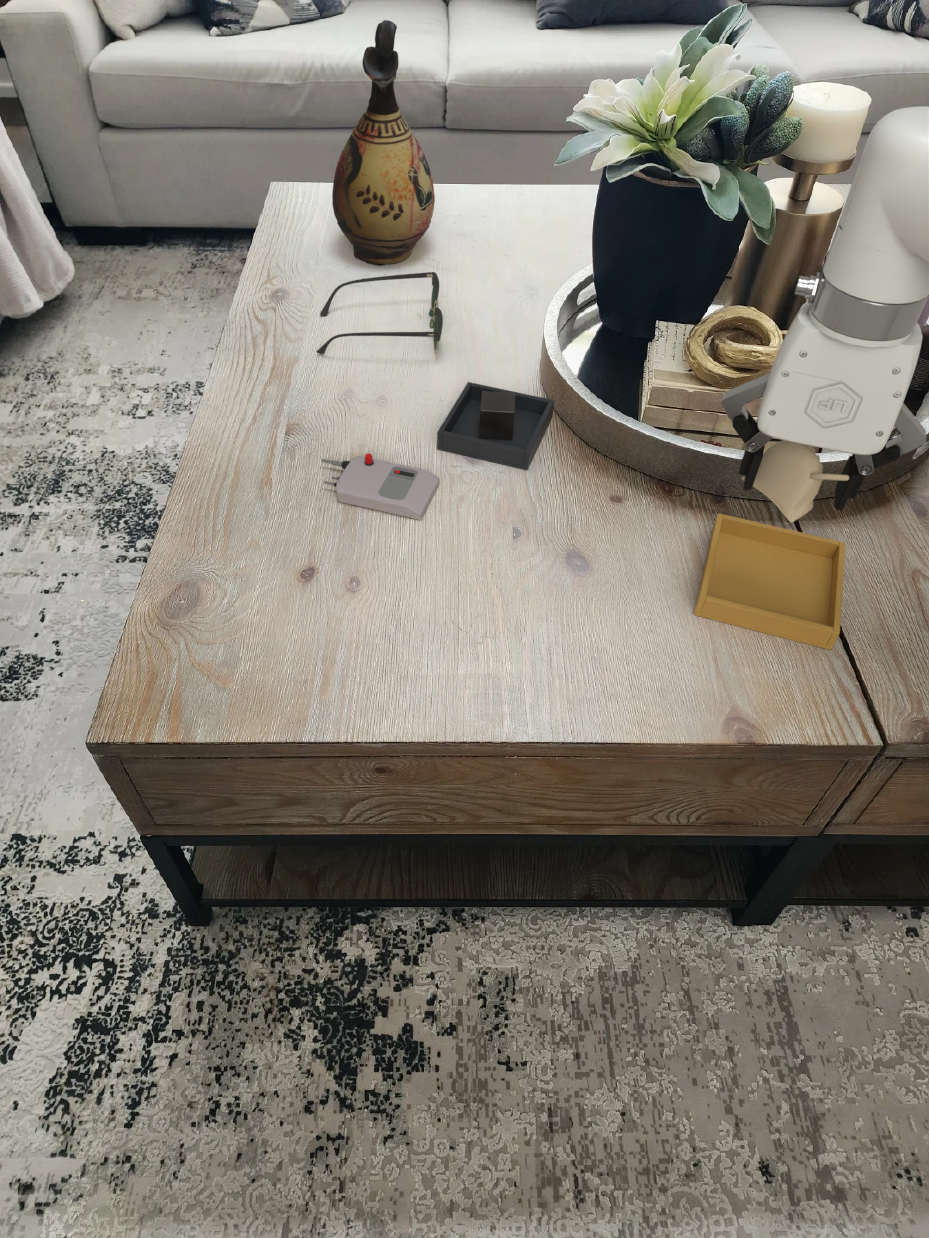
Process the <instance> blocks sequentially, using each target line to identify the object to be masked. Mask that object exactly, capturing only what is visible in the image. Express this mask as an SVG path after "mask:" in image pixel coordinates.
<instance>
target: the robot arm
mask: <svg viewBox="0 0 929 1238" xmlns="http://www.w3.org/2000/svg"><path fill="white" fill-rule="evenodd" d="M867 137H868V138H867V140H866V142H865V145H864V147H863V150H862V154H861V156H860V159H859V161H858V165H857V168H856V170H855V174H854V177H853V180H852V183H851V186H850V188H849V191H848V194H847V197H846V200H845V203H844V206H843V208H842V212H841V215H840V218H839V220H838V223H837V226H836V229H835V232H834V235H833V238H832V241H831V244H830V247H829V250H828V252H827V256H826V259H825V261H824V264H822V267H821V269H820V272H819V271H816V274H815V275H809V276H803V275H798V279H797V281H796V284H795V289H794V292H793V295H795V296H802V297H803V299H808V300H807V301H806V302H804V303H803V304H802V305H801V307H800V308H799V310H798V311H797V313H796V315H795V316H794V318H793V320H792V322H791V324H790V326H789V327H788V330H787V332H786V333H785V335H784V337H783V340H782V342H781V344H780V347H779V348H778V351H777V353H776V355H775V358H774V360H773V363H772V366H771V368H770V371H769V373H767V374H764V375H762V376H760V377H757V378H754V379H752V380H750V381H747V382H745V383H743V384H739V385H738V386H735V387H733V388H730V389H728V390H725V392H723V394H722V399H721V406H722V408H723V410H724V412H725V413H726V415H727V417H728V418H729V419H730V422H731V423H732V424H731V425H732V428H733V429H734V430H735V432H736V433H737V435H738V436H739V437H740V440H742V442H743V443H744V449H745V450H744V453H743V456H742V459H741V462H740V464H739V469H738V475H739V476H742V477H743V476H745V480H743V486H742V490H744V491H747V492H748V491H750V490H753V488H754V487H753V484H754V481H755V478H756V475H757V472H758V469H759V466H760V464H761V461H762V458H763V454H764V453H765V446H766V445H767V443H769V442H770V441H771V440H772V439H776V440H780V441H782V440H785V441H790V442H794V443H799V444H804V445H808V447H815V448H819V449H824V450H829V451H834V452H838V453H839V452H840V453H845V454H851V455H849V456H848V458H847V461H846V463H845V465H844V467H843V470H842V472H841V475H848V476H849V480H847V481H837V483H836V485H835V489H834V500H833V501H834V502H833V508H835V510H837V511H842V512H843V511H844V509H845V507H846V504H847V502H848V500H849V499H852V500H855V499H856V497H857V495H858V493H859V492H860V489H861V486H862V485H863V483H864V481H865V478H866V477H867V476H871V475H872V474H873V473H874V472H875V470H876V469H878V468H880V467H883V466H885V465H888V464H890V463H893V462H895V461H897V460H899V459H900V457H901V456H903V455H904V454H905V455H906V454H908V453H910V452H912V451H914V450H916V449H917V448H920V447H922V446H923V445H924V444H926V442H927V430H926V428H925V427H924V426H923V425H922V423H920V421H919V420H918V419H917V417H916V416H915V415H914V414H913V413H912V411H911V410H910V409H909V408H908V406H907V405H906V404H905V403H904V402H905V399H906V396H907V393H908V391H909V388H910V385H911V383H912V379H913V376H914V373H915V371H916V367H917V363H918V361H919V357H920V353H921V348H922V344H923V333H922V328H921V326H920V324H919V322H918V321H919V320H920V318H921V314H922V313H923V311H924V309H925V306H926V305H927V301H928V299H929V106H927V105H926V106H923V105H922V106H921V105H920V106H919V105H918V106H909V107H901V108H898V109H895V110H892V111H890V112H889V113H886V114H885V115H883V116H882V117H881V118H880V119H879V120H878V121H877V122H876V124H875V125H874V126H873V128H872V130H871V131H870V133H869V135H868V136H867ZM757 400H760V404H759V407H758V412H757V417H756V419H754V417H753V416H752V414H751V413H750V411H749V410H747V409H746V406H745V405H748V404H750V403H752V402H754V401H757ZM894 427H895V428H896V429H897V431H899V434H897V435H896V436H895V437H890V436H891V434H892V431H893V429H894Z"/></svg>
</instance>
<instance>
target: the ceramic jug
mask: <svg viewBox="0 0 929 1238" xmlns="http://www.w3.org/2000/svg"><path fill="white" fill-rule="evenodd" d="M397 28H398V26H397V24H396V23H394V21H391V20H389V19H384V20H383V21H381V22H379V23H378V24H377V26H376V29H375V35H374V43H375V45H374V46H367V47H366V48H365V50H364V53H363V57H362V63H361V64H362V68H363V72H364V74H365V75H366V76H368V78H369V79H370V80H371V92H370V97H369V99H368V105H367V108H366V110H365V112H364V113H363V114H362V115H361V117H360V118H359V120H358V121H357V124H356V125H355V127H354V128H353V129H352V132H351V134H350V135H349V138H348V139H347V141H346V143H345V145H344V147H343V149H342V151H341V153H340V156H339V158H338V161H337V164H336V167H335V170H334V171H335V172H334V178H333V184H332V192H331V193H332V194H331V199H332V209H333V214H334V218H335V219H336V223H337V226H338V227H339V230H340V231H341V232H342V234H343V236H345V237H346V239H347V240H348V242H349V243H350V244H351V245H352V249H353V256H354V258H356V259H358V260H360V261H363V262H364V263H366V264H369V265H374V266H383V265H386V264H387V265H392V264H393V265H394V264H399V263H401V262H404V261H406V260H407V259H408V258H409V257H410V256H411V255H412V251H413V250H414V248H415V247H416V245H417V243H418V242H419V241H420V240H421V239H422V237H423V236H424V235H425V233H426V232H427V231H428V229H429V228H430V225H431V223H432V217H433V215H434V211H435V202H436V201H435V199H436V197H435V195H436V194H435V187H434V179H433V176H432V172H431V169H430V165H429V163H428V159H427V157H426V155H425V153H424V151H423V148H422V146H421V145H420V142H419V141H418V140H417V137H416V136H415V133H414V131H413V130H412V129H411V126H410V125H409V124H408V122H407V120H406V119H405V117H404V116H403V113H402V112H401V107H400V106H399V105H398V102H397V98H396V97H397V96H396V93H395V87H394V83H395V80H396V79H397V72H398V70H399V64H400V63H399V53H398V52H397V51H396V50H395V39H396V33H397Z"/></svg>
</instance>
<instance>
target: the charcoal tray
mask: <svg viewBox="0 0 929 1238" xmlns="http://www.w3.org/2000/svg"><path fill="white" fill-rule="evenodd" d="M482 391H490V392H507V393H515V413H514V426H513V438H512V440H499V439H483V438H479V427H480V408H481V398H482ZM554 408H555V399H550V398H546V397H542V396H537V395H532V394H527V393H522V392H518V391H513V390H509V389H503V388H499V387H495V386H489V385H484V384H480V383H475V382H471V381H467V382H466V384H465V386H464V387H463V389H462V391H461V393H460V394H459V396H458V398H457V399H456V401H455V402H454V404H453V406H452V407H451V409H450V411H449V412H448V414H447V415H446V417H445V419H444V420H443V422H442V423H441V425H440V427H439V429H438V430H437V432H436V436H437V440H436V441H437V443H436V444H437V445H436V448H437V449H436V450H438V451H443V452H448V453H450V454H456V455H460V456H465V457H469V458H473V459H477V460H481V461H486V462H490V463H494V464H499V465H504V466H507V467H511V468H516V469H520V470H525V471H528V470H529V469H530V466H531V463H533V462H532V461H533V460H534V457H535V455H536V454H537V451H538V449H539V447H540V444H541V443H542V440H543V439H544V436H545V434H546V432H547V430H548V428H549V426H550V424H551V421H552V419H553V416H554Z"/></svg>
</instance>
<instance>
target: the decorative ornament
mask: <svg viewBox="0 0 929 1238" xmlns="http://www.w3.org/2000/svg"><path fill="white" fill-rule="evenodd" d="M823 470H824V465H823V464H822V463H821V458H820V456H819V454H816V451H815V449H814V448H811V447H810V446H809V445H804V444H799V443H794V442H790V441H785V440H780V441H776V443H774V444H773V445H771V446H769V448H768V449H766V450H764V453H763V458H762V461H761V464H760V466H759V469H758V472H757V475H756V478H755V481H754V484H753V487H752V488H755V489H756V490H758V491H759V492H761V493H762V494H763V495H764V496H765V497H767V498H768V499H769V500H770V501H771V502H772V503H773V504H774V505H775V506H776V507H777V508H778V509H779V510H780V512H782V515H783V516H784V517H785V518H786V519H787V520H788V521H789V522H790V523H794V522H796V521H798V520H799V519H801V518H802V517H804V516H805V515H807V514H808V512H810V511H811V510H812V509H813V508H814V500H815V498H816V497H817V495H818V494H820V492H819V490H820V488H821V486H822V483H823V481H837V482H838V481H847V480H849V476H848V475H841V474H842V473H841V474H839V473H823V472H824V471H823ZM741 480H742V481H744V480H745V476H743V475H742V477H741Z"/></svg>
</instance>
